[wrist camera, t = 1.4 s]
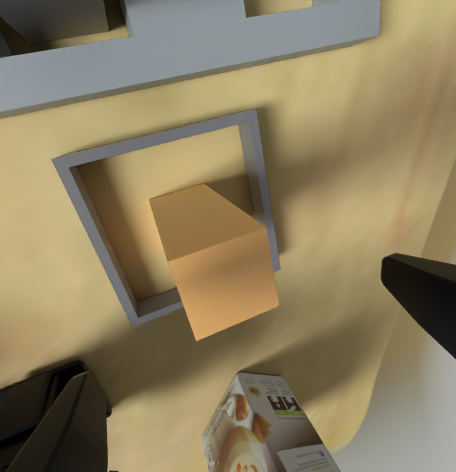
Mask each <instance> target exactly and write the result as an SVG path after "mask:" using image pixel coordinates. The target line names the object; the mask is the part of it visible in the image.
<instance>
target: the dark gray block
mask: <svg viewBox="0 0 456 472" xmlns="http://www.w3.org/2000/svg"><path fill="white" fill-rule="evenodd" d="M0 17H1V18H2V19H3V20H4V21H5V22H6V23H8V24H9V25H10V26H11V27H12V28H13V29H14V30H15V31H17V32H18V33H19V34H20V35H21V36H22V37H23V38H24V39H26V40H27V41H28V42H29V43H30V44H31V43H37V42H44V41H50V40H56V39H63V38H69V37H76V36H82V35H88V34H95V33H101V32H108V31H109V29H108V23H107V18H106V12H105V7H104V2H103V0H0Z"/></svg>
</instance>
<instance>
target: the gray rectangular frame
mask: <svg viewBox="0 0 456 472" xmlns="http://www.w3.org/2000/svg"><path fill="white" fill-rule="evenodd" d="M312 1H313V7H310V8H304V9H297V10H291V11H285V12H279V13H273V14H267V15H261V16H254V17H248V18H246V13H245V6H244V0H119V2H120V6H121V9H122V12H123V16H124V19H125V22H126V26H127V29H128V32H129V35H130V37H126V38H119V39H113V40H107V41H101V42H95V43H89V44H83V45H76V46H70V47H64V48H58V49H52V50H46V51H40V52H34V53H27V54H21V55H15V56H13V55H12V53H11V51H10V49H9V47H8V44H7V42H6V40H5V38H4V36H3V34H2V32H1V29H0V118H5V117H10V116H15V115H19V114H24V113H29V112H34V111H39V110H44V109H48V108H53V107H58V106H63V105H68V104H73V103H77V102H82V101H87V100H92V99H97V98H102V97H106V96H111V95H116V94H121V93H126V92H131V91H135V90H140V89H145V88H150V87H155V86H160V85H164V84H169V83H174V82H179V81H184V80H189V79H194V78H198V77H203V76H208V75H213V74H218V73H223V72H227V71H232V70H237V69H242V68H247V67H252V66H256V65H261V64H266V63H271V62H276V61H281V60H285V59H290V58H295V57H300V56H305V55H310V54H314V53H319V52H324V51H329V50H334V49H339V48H344V47H348V46H352V45H355V44H358V43H360V42H363V41H366V40H368V39H371V38H374V37H376V36H379V35H380V0H312Z"/></svg>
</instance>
